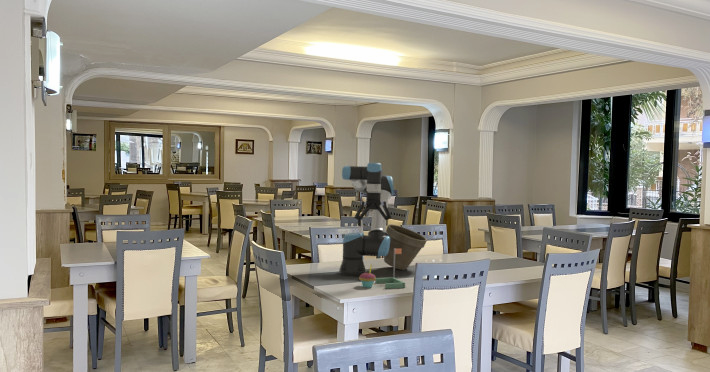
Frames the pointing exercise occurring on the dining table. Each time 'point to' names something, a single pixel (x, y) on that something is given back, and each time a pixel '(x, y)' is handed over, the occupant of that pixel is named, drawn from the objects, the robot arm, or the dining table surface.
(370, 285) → the cupcake
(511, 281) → the dining table surface
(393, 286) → the mini putting green
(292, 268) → the dining table surface
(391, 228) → the plant pot
